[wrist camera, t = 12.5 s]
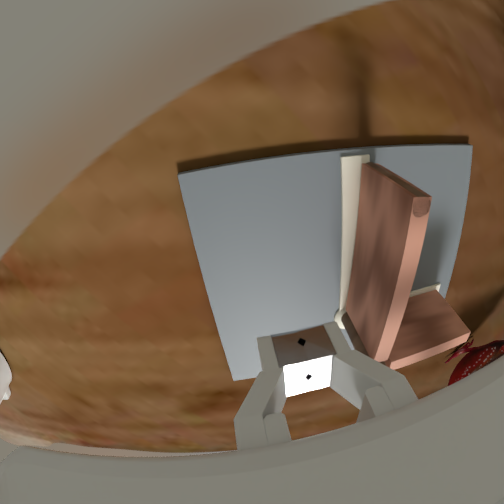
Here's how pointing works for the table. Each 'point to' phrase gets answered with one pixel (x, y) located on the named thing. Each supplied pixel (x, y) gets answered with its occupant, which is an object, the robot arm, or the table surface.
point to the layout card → (307, 235)
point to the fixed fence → (419, 330)
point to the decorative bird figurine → (475, 359)
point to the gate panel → (385, 255)
